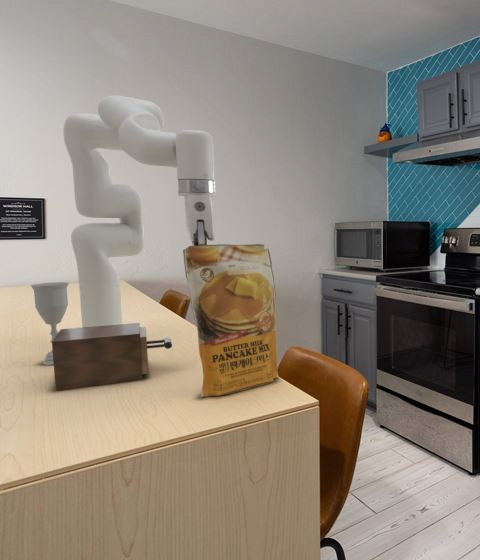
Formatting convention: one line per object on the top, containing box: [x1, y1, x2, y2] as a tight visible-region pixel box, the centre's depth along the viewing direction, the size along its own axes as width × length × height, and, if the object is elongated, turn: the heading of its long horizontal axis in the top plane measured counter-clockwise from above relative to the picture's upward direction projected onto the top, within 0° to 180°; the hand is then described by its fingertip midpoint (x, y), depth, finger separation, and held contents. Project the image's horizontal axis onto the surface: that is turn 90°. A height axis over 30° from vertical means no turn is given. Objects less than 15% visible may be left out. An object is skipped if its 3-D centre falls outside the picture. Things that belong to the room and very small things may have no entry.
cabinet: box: [51, 322, 143, 391], centre depth 105 cm, size 15×13×10 cm
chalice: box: [30, 281, 70, 366], centre depth 116 cm, size 7×7×18 cm
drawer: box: [140, 326, 173, 375], centre depth 107 cm, size 18×11×8 cm, turn 119°
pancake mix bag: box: [182, 243, 280, 398], centre depth 98 cm, size 7×19×28 cm, turn 138°
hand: (200, 272), depth 113 cm, fingers closed
